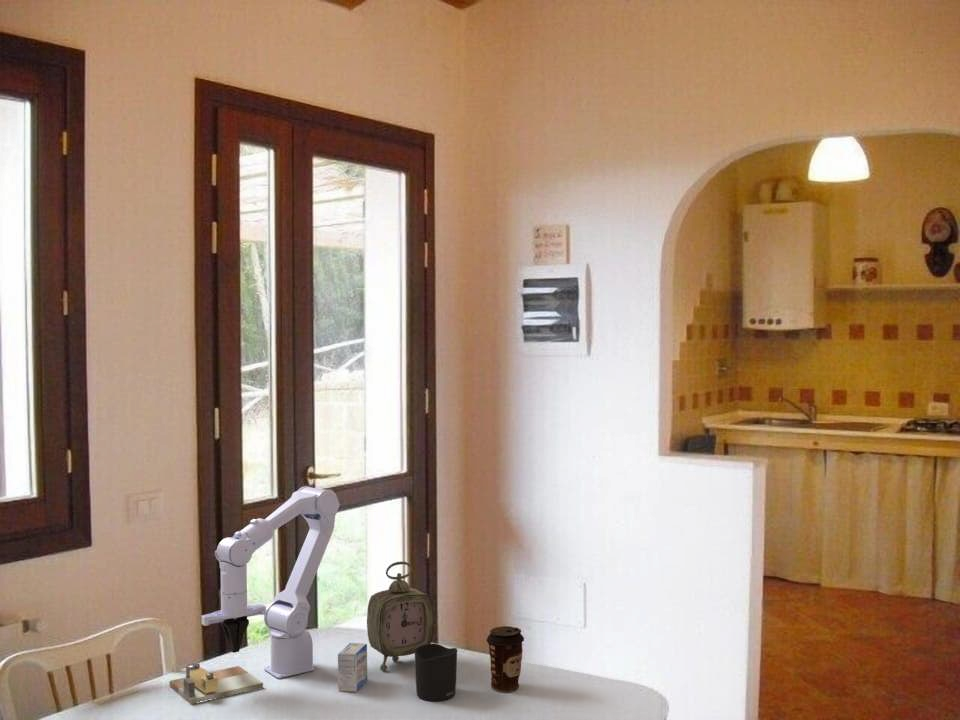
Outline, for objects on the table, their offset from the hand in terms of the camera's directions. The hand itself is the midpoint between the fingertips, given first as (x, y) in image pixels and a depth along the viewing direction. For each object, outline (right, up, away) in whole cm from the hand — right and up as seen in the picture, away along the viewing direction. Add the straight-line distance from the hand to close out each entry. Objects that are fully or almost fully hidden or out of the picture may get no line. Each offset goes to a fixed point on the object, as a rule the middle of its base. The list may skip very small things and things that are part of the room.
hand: (234, 651), depth 215 cm
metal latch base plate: (-4, -8, +1) cm, 9 cm away
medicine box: (+27, -9, +1) cm, 28 cm away
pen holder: (+46, -9, -4) cm, 47 cm away
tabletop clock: (+36, -8, +16) cm, 40 cm away
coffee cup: (+61, -8, 0) cm, 62 cm away
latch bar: (-7, -7, -3) cm, 10 cm away
